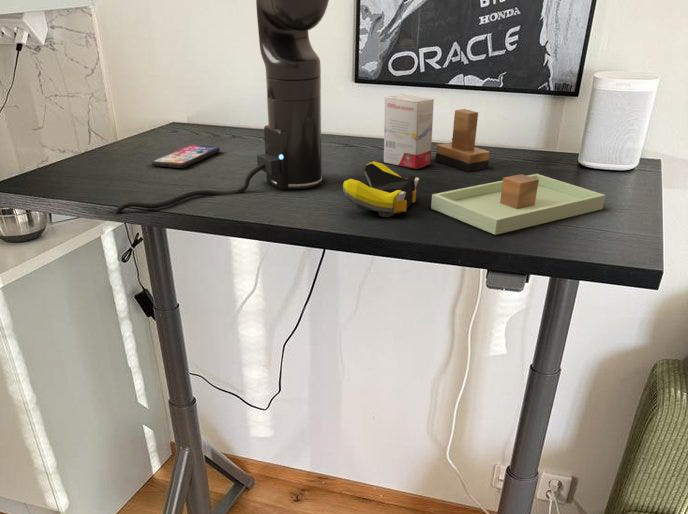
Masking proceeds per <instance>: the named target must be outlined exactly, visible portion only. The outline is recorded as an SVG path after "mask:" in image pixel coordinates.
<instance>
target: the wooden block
mask: <svg viewBox="0 0 688 514" xmlns="http://www.w3.org/2000/svg"><path fill="white" fill-rule="evenodd" d="M502 180H503V184H502V191H501V198H500V203H502V204H504V205H507V206H510V207H513V208H515V209H519V208H524V207H528V206H533V205H535V200H536V194H537V188H538V182H539V180H538V179H535V178H532V177H529V176H527V175H525V174H523V173H520V174H514V175H510V176H505V177H503V179H502Z"/></svg>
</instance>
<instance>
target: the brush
mask: <svg viewBox="0 0 688 514" xmlns="http://www.w3.org/2000/svg"><path fill="white" fill-rule="evenodd" d="M478 119H479V112H478V111H475V110H471V109H467V108H462V109H455V110H454V117H453V127H452V128H453V129H452V138H451V139H452V141H451V142H445V143H437V144H436V149H435V150H436V151H435V162H439V163H441V164H444V165H447V166H450V167H453V168H456V169H459V170H462V171H465V172H469V173H470V172H475V171H479V170H480V171H481V170H486V169H488V168H489V161H490V156H491V155H490V154H491V151H489V150H486V149H482V148H479V147H476V139H477V128H478V127H477V126H478Z"/></svg>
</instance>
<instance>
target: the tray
mask: <svg viewBox="0 0 688 514" xmlns="http://www.w3.org/2000/svg"><path fill="white" fill-rule="evenodd" d="M526 176H529V177H532V178H535V179H538V180H539V182H538V188H537V194H536V200H535V205H533V206H528V207H524V208H519V209H515V208H513V207H510V206H507V205H504V204H502V203H500V198H501V191H502V184H503V179H502V180H499V181H493V182H488V183H483V184H478V185H472V186H468V187H463V188H462V187H461V188H458V189H453V190H447V191H442V192H438V193H437V192H436V193H433V194H431V203H430V209H431V210H433V211H437V212H438V213H441V214H444V215H446V216H448V217H451V218H453V219H455V220H458V221H460V222H463V223H465V224H467V225H471V226H472V227H475V228H477V229H480V230H483V231H485V232H487V233H490V234H492V235H495V236H496V235H501V234H504V233H509V232H514V231H517V230H521V229H525V228H530V227H535V226H539V225H543V224H547V223H551V222H555V221H559V220H564V219H568V218H571V217H576V216H579V215H584V214H589V213H592V212H593V213H594V212H597V211H600V210H603V208H604V204H605V199H606V194H603V193H600V192H597V191H594V190H590V189H587V188H584V187H581V186H578V185H574V184H571V183H568V182H565V181H562V180H558V179H554V178H552V177H549V176H546V175H542V174H539V173H533V174H528V175H526Z"/></svg>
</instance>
